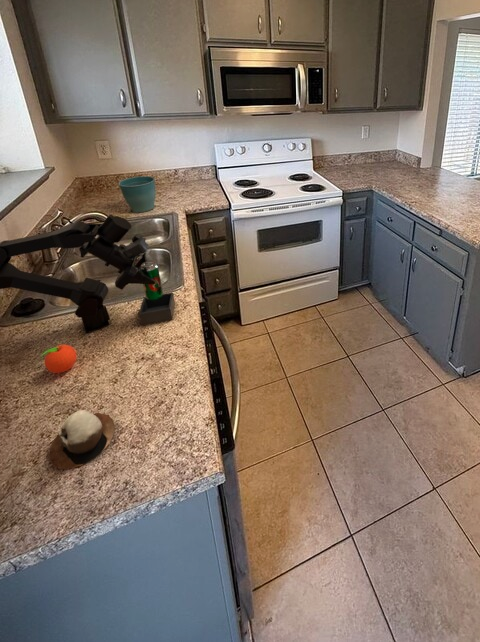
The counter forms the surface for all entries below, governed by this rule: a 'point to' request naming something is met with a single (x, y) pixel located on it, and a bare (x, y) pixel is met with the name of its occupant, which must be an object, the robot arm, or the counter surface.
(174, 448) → the counter surface
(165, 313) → the waste bin
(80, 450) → the hat
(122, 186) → the flower pot
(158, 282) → the soda can
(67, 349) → the clementine
